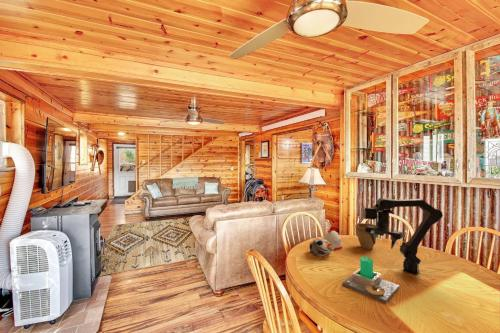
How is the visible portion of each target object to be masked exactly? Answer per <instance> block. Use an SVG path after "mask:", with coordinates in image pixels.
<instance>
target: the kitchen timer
mask: <svg viewBox="0 0 500 333" xmlns="http://www.w3.org/2000/svg"><path fill="white" fill-rule="evenodd" d="M337 229H338V227H336V226H335V225H334V226H333V225H332V226H330V227H329V228H328V229H327V232H326V233H325V234H324V235H323V239H325V240H327V241H328V242H329V243H330V244H332V245H334V246H335V248H334V250H333V251H339V250H342V249H343V242H342V239H341V237H340V235H339V233H338V232H337Z"/></svg>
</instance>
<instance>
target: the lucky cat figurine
mask: <svg viewBox="0 0 500 333" xmlns="http://www.w3.org/2000/svg"><path fill="white" fill-rule="evenodd" d="M308 248H309V252H310V253H311V254H312V255H313V256H316V257H320V258H322V257H325V256H326V255H328V254H330V253H331V252H332V251H335V250H334V248H335V246H334V245H332V244H330V243H329V242H328V241H327V240H325V239H324V238H317V239H316V238H315V239H314V240H313V241H311V242H310V243H309V247H308Z"/></svg>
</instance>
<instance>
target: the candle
mask: <svg viewBox="0 0 500 333" xmlns="http://www.w3.org/2000/svg"><path fill="white" fill-rule="evenodd" d="M359 259H360V262H359V263H360V264H359V265H360V267H359V268H360V275H361V276H364V277H367V278H369V279H373V271H374V260H373V258H371V257H368V256H367V255H366V256H361V257H360V258H359Z"/></svg>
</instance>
